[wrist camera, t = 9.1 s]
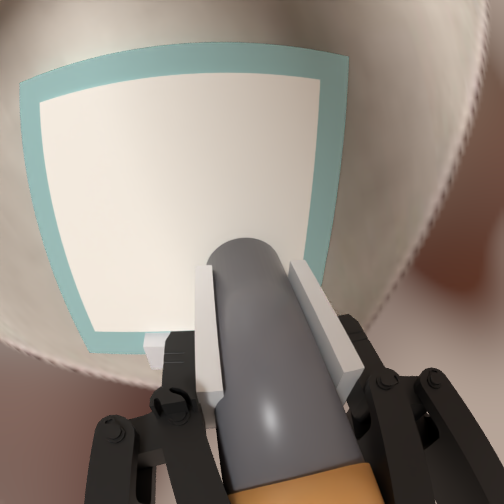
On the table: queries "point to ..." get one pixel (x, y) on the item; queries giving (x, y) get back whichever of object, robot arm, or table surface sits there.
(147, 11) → the table surface
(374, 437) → the robot arm
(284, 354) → the marker
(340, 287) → the table surface
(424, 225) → the table surface
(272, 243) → the clipboard
